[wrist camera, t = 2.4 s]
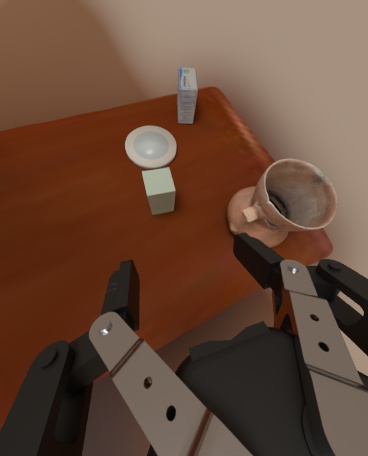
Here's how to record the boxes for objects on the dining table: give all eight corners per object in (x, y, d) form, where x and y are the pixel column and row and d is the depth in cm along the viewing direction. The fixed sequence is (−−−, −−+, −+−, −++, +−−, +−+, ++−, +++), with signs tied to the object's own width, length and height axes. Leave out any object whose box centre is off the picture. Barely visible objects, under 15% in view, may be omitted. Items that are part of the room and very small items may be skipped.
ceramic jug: (234, 262, 33) (284, 255, 19) (208, 205, 36) (234, 165, 22) (295, 234, 36) (373, 213, 23) (267, 185, 40) (320, 141, 26)
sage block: (152, 215, 34) (147, 195, 25) (148, 196, 35) (141, 171, 26) (173, 210, 35) (175, 190, 26) (168, 192, 36) (169, 167, 27)
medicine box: (192, 125, 43) (198, 89, 35) (177, 124, 42) (179, 88, 34) (191, 105, 45) (196, 68, 37) (176, 104, 45) (178, 66, 36)
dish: (130, 173, 36) (129, 169, 35) (122, 132, 39) (121, 128, 38) (181, 165, 38) (181, 162, 37) (170, 127, 42) (170, 123, 40)
